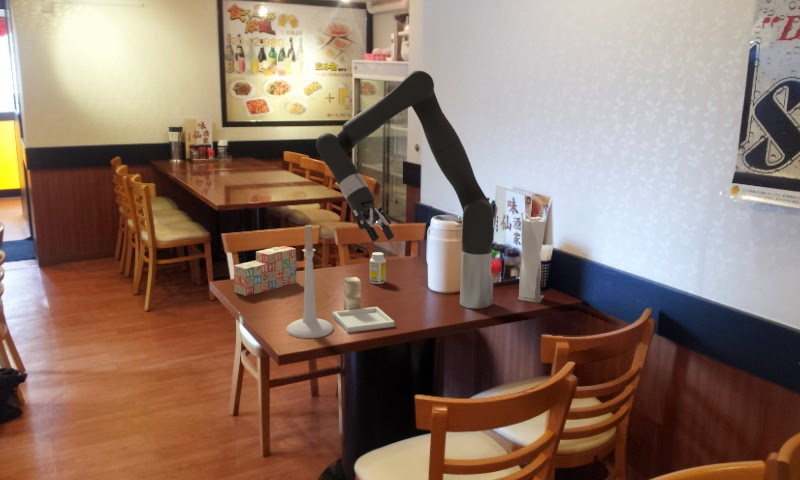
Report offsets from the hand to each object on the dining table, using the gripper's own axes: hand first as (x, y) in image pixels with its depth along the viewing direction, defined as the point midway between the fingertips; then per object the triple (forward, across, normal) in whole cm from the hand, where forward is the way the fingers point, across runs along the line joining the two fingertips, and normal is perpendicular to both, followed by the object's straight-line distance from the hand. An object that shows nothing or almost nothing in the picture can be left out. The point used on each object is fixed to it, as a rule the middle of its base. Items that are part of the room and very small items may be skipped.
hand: (384, 239), depth 194 cm
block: (+11, +2, +23) cm, 26 cm away
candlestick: (+12, -17, +26) cm, 33 cm away
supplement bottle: (+2, +32, +28) cm, 43 cm away
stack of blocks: (-13, +7, +52) cm, 54 cm away
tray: (+17, -4, +18) cm, 25 cm away
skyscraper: (+34, +44, -12) cm, 56 cm away
